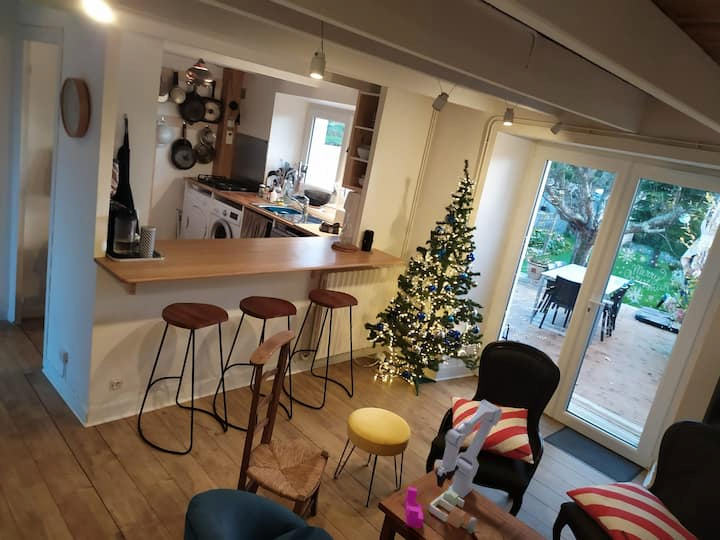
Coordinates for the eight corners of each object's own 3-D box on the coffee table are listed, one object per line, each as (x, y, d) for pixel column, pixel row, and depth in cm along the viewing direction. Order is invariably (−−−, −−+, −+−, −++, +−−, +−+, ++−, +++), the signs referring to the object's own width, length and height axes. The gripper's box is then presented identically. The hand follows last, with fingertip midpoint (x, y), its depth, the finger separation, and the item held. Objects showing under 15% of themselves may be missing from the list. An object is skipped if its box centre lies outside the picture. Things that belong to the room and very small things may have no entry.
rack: (445, 495, 240) (447, 489, 240) (463, 506, 235) (464, 500, 234) (427, 510, 229) (428, 504, 228) (445, 522, 223) (446, 516, 223)
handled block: (452, 517, 227) (455, 505, 226) (475, 530, 222) (478, 518, 220) (447, 522, 223) (450, 510, 222) (471, 536, 218) (474, 523, 216)
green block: (446, 499, 238) (449, 488, 237) (455, 505, 235) (458, 495, 234) (441, 503, 235) (444, 492, 234) (451, 509, 232) (454, 498, 231)
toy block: (421, 528, 217) (424, 513, 216) (406, 525, 217) (409, 510, 216) (419, 504, 232) (422, 489, 230) (405, 501, 232) (408, 486, 230)
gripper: (450, 445, 238) (444, 471, 241) (434, 457, 226) (427, 484, 230) (464, 453, 233) (457, 479, 237) (448, 466, 222) (441, 493, 226)
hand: (443, 482), depth 233 cm, fingers open, 7 cm apart
